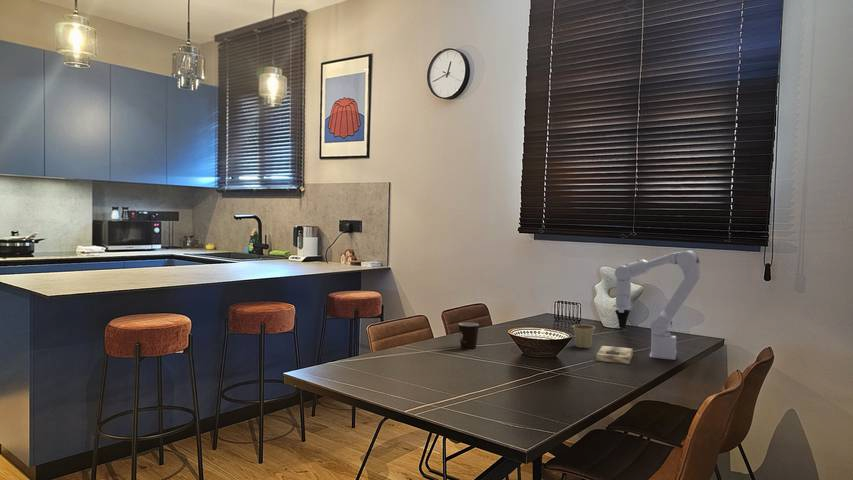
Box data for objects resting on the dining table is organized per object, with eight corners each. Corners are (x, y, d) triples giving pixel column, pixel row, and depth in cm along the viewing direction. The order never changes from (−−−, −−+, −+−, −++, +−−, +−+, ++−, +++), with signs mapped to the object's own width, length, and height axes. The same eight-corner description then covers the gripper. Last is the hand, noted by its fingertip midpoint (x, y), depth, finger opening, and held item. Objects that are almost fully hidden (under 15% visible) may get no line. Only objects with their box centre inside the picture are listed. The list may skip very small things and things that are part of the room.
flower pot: (589, 350, 245) (590, 329, 245) (568, 347, 251) (568, 326, 250) (598, 346, 252) (598, 326, 252) (577, 343, 258) (577, 323, 258)
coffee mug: (479, 350, 242) (479, 326, 242) (458, 350, 242) (458, 326, 242) (477, 344, 254) (477, 321, 254) (457, 344, 254) (457, 321, 254)
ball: (617, 360, 230) (618, 351, 231) (617, 358, 226) (617, 349, 228) (608, 359, 231) (608, 350, 232) (607, 357, 228) (608, 348, 229)
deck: (632, 354, 238) (632, 348, 238) (629, 363, 222) (629, 357, 222) (601, 351, 243) (602, 345, 243) (596, 360, 227) (596, 354, 227)
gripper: (615, 292, 251) (614, 323, 251) (611, 296, 237) (610, 329, 238) (632, 293, 248) (631, 325, 248) (629, 297, 235) (628, 331, 235)
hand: (622, 327), depth 243 cm, fingers closed
